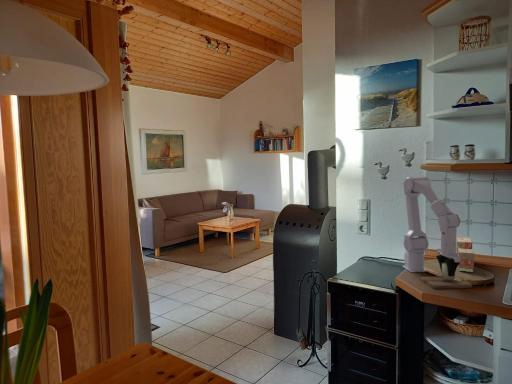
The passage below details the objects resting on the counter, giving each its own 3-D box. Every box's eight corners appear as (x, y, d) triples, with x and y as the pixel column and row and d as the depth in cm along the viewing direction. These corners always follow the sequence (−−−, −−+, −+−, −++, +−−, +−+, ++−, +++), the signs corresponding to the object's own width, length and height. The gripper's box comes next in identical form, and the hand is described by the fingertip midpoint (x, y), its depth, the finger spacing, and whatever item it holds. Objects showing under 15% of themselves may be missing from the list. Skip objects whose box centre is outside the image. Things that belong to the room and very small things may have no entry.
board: (419, 279, 170) (419, 277, 170) (455, 278, 171) (455, 275, 171) (434, 289, 158) (434, 286, 158) (472, 287, 159) (472, 284, 159)
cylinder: (439, 276, 167) (439, 262, 166) (449, 275, 167) (450, 261, 167) (446, 280, 162) (447, 266, 161) (457, 279, 162) (457, 265, 162)
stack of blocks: (473, 273, 178) (474, 246, 177) (458, 271, 180) (459, 245, 179) (468, 261, 197) (469, 237, 196) (455, 259, 200) (455, 236, 199)
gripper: (468, 246, 156) (467, 279, 157) (447, 238, 170) (447, 268, 172) (451, 247, 156) (450, 280, 157) (432, 239, 170) (431, 269, 171)
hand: (447, 274), depth 164 cm, fingers closed on cylinder, 5 cm apart
